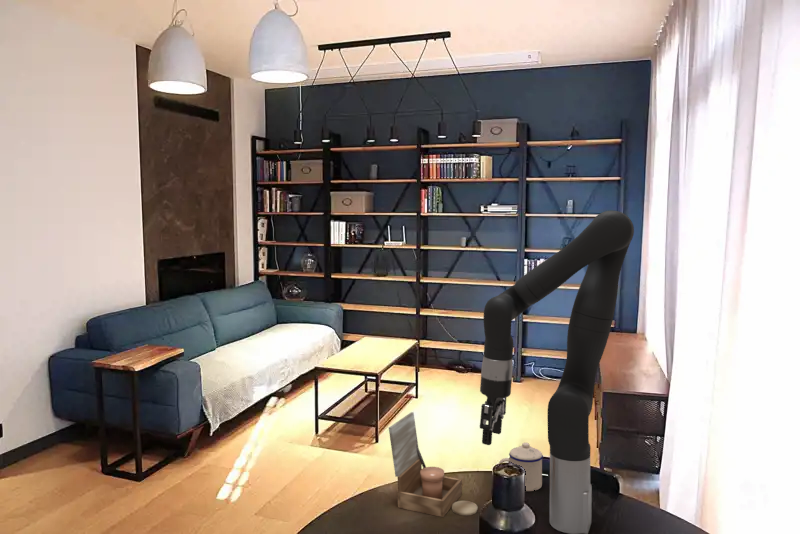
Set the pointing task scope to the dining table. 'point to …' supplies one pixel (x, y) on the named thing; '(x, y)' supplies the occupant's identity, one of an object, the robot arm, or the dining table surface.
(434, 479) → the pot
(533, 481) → the teacup with lid
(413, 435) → the cold frame
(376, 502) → the dining table surface
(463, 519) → the dining table surface
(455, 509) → the coaster
